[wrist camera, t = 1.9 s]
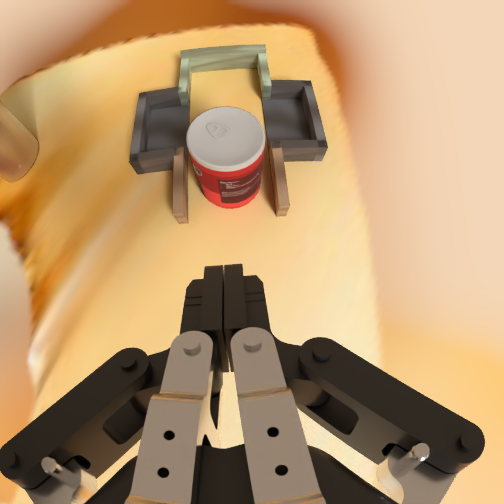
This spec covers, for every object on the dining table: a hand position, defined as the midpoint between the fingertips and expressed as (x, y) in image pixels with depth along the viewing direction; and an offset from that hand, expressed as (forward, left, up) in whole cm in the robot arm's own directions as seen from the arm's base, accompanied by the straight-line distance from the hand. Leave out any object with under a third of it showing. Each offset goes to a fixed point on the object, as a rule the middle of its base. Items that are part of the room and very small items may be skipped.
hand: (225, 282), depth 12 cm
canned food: (-12, +10, -23) cm, 28 cm away
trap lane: (-19, +16, -23) cm, 34 cm away
